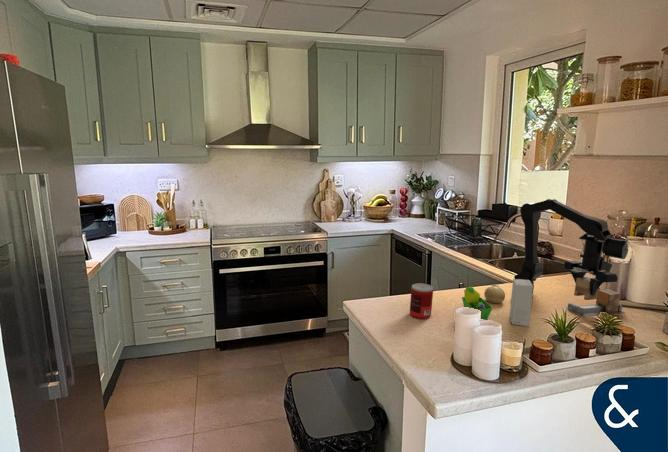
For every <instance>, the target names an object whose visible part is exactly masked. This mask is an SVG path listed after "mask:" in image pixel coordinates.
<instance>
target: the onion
mask: <svg viewBox="0 0 668 452" xmlns="http://www.w3.org/2000/svg"><path fill="white" fill-rule="evenodd" d="M483 294H484V298H485V299H486V302H489V303H491V304H501V303H502V302H504V301H505V298H506V293H505V291H504V289H503V288H501V287H500V286H499V285H498V284H495V283H491V286H488V287H487V288H486V289H485V290H484V293H483Z"/></svg>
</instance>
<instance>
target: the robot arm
mask: <svg viewBox="0 0 668 452" xmlns="http://www.w3.org/2000/svg"><path fill="white" fill-rule="evenodd" d="M549 210H550V211H552V212H553V213H555V214H557V215H559V216H561V217H563V218H565V219H566V220H569V221H570V222H573V223H574V224H576V225H577V226H578V227H579V228H580V229H581V230H582V231H583V232H584V234H582V235H581V236H579V237H578V239H579V240H583V241H584V246H583V252H582V253H581V254H579V258H580V257H581V258H582V259H581V262H580V261H578V260H565V262H563V267H562V268H563V269H566V270H568V272H569V273H570V274H571V276H572V279H573V281H574V283H575V284H576V280H577V278H580V277H586V274H589V275H592V276H594V277H593V278H591V277H589V278H590V292H591V295H592V296H593V295H594V294H595V293H596V291H597V290H599V288H600V287H601V285H602V284H604V283H617V282H618V275H617V274H616V273H614V272H612V271H611V269H612V267H613V264H612V263H609V262H607V261H605V257H610V258H615V259H621V260H625V259H626V258H627V256H628V252H629V246H628V240H626V239H619V238H614V236H613V235H612V233H611V231H610V230H609V226H608V222H607V221H605V220H604V219H601V218H598V217H594V216H591V215H586V214H584V213H583V212H580V211H578V210H575V209H574V208H572V207H570V206H568V205H566V204H565V203H562V202H561V201H559V200H557V199H556V198H548V199H546V200H542V201H538V202H529V203H528V202H527V203H524V204H522V206H521V207H520V208H519V212H520V217H521V220H522V222H523V224H524V260H523V262H522V265H521V268H520V272H519V273H518V274H516V275H514V276H513V279H522V280H530V282H531V283H532V285H533V291H532V295H533V294H534V288H535V285H534V283H535V282H536V281H537V279H538V278H540V277H541V276H542V273H543V272H544V269H543V267H544V263H543V261H542V262H540V261H539V259H538V224H539V221H540V220H541V215H542V213H543V212H546V211H549ZM602 254H603V255H604V256H605V257H604V256H602Z"/></svg>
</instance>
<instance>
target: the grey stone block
mask: <svg viewBox="0 0 668 452" xmlns="http://www.w3.org/2000/svg"><path fill="white" fill-rule="evenodd" d="M590 278H591V277H588V276H584V277H580V278H577V280H576V283H575V287H574V293H573V296H575V297H580V296H583V300H585V301H591V300H593V301H594V300H597V294H598V290H599V289H598V290H597V291H596V293H595V294H594V295H593V296H592V295H591V292H590Z"/></svg>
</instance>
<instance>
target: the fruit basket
mask: <svg viewBox="0 0 668 452" xmlns="http://www.w3.org/2000/svg"><path fill="white" fill-rule="evenodd" d="M463 292H464V296H462V297H461V300H462V303H463V304H462V305H463V308H464V307H469V308H474V309H478V310H480V311H481V319H486V320H485V321H488V319H489V317H490V315H491V312H492V311H493V309H494V308H493V306H491V305H490V304H489V303H488V301H485V300H484V298H482V297H481V294H480V293H479V292H478V291H477V290H476V289H475V288H474V287H473V286H466V287H465V289H464V291H463Z"/></svg>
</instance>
